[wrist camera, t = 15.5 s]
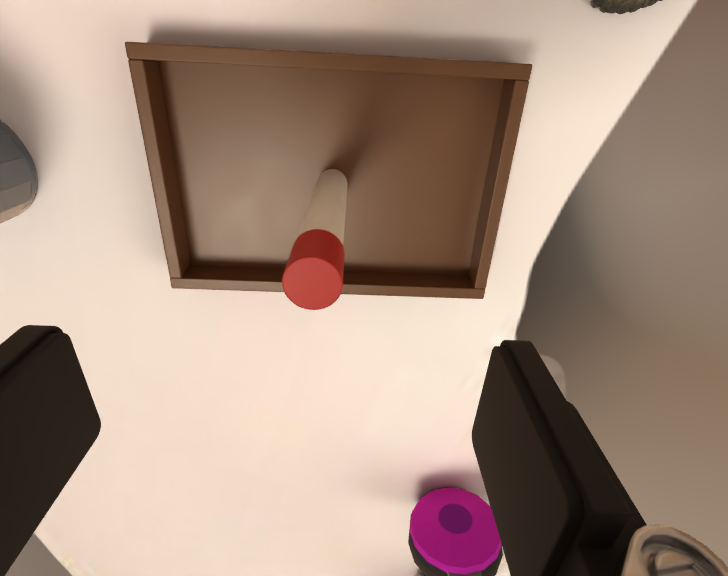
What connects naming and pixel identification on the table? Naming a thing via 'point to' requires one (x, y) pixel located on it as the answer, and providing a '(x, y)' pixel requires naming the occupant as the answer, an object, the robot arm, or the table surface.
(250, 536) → the table surface
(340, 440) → the table surface
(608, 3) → the eagle figurine
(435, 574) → the headphones
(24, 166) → the pen cup
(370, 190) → the tray
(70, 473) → the robot arm
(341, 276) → the marker
